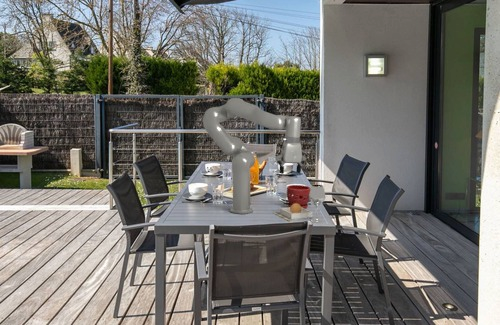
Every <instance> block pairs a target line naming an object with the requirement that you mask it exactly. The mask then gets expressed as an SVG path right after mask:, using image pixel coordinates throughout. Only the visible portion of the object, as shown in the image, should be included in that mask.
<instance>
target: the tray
mask: <svg viewBox="0 0 500 325" xmlns="http://www.w3.org/2000/svg"><path fill="white" fill-rule="evenodd" d="M301 208H302V207H301ZM278 214H280V215H282V216H284V217H286V218H288V219H290V220H292V221H293V220H294V221H295V220H302V219H312V218H313V211H311V210H309V209H307V208H305V209H304V208H302V211H301V213H291V211H290V207H288V206H287V207H280V208H279V212H278Z"/></svg>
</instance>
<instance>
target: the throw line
mask: <svg viewBox="0 0 500 325" xmlns="http://www.w3.org/2000/svg"><path fill="white" fill-rule="evenodd" d="M273 214H274V215H276V216H278V217H280V218H282V219H283V220H286V221H287V222H288V223H293V222H294V221H293V220H291V219H289V218H287V217H285V216H283V215H281V214H279V212H278V213H277V212H273Z"/></svg>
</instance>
